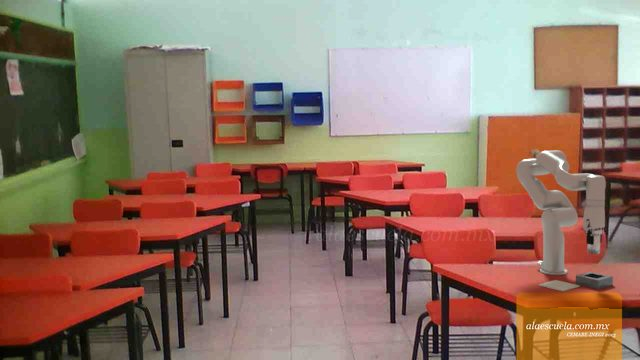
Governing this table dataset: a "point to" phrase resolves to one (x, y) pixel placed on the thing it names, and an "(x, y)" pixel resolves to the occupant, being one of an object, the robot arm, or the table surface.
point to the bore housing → (594, 280)
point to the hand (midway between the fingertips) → (593, 242)
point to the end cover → (595, 242)
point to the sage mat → (559, 285)
